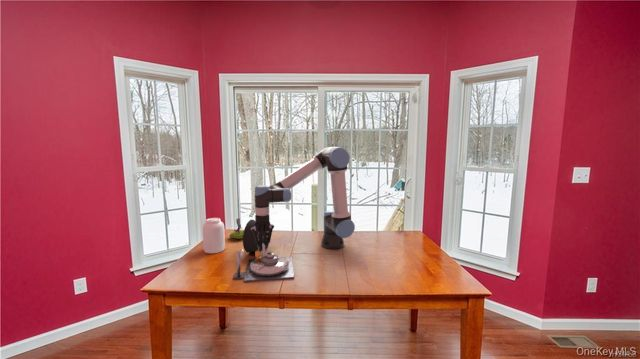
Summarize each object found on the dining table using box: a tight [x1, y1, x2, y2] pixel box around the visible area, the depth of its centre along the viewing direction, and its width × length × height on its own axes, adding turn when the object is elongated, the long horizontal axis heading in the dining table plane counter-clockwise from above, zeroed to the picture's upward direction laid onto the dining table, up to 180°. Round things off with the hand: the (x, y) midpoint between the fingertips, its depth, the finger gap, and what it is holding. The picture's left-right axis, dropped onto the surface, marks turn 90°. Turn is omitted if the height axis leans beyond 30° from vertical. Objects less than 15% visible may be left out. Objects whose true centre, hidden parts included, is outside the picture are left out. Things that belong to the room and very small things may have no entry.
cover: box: [262, 251, 279, 266], centre depth 141 cm, size 8×8×5 cm
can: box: [202, 217, 226, 254], centre depth 166 cm, size 12×12×20 cm
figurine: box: [228, 217, 244, 240], centre depth 188 cm, size 14×13×15 cm
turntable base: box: [243, 256, 295, 283], centre depth 142 cm, size 24×24×1 cm
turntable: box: [250, 250, 289, 276], centre depth 141 cm, size 20×20×7 cm
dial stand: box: [232, 249, 246, 280], centre depth 133 cm, size 5×5×14 cm
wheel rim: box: [242, 219, 270, 253], centre depth 164 cm, size 20×9×20 cm, turn 168°
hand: (263, 255), depth 148 cm, fingers closed
